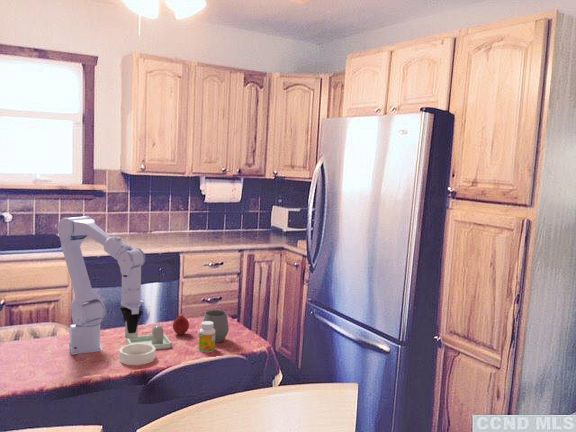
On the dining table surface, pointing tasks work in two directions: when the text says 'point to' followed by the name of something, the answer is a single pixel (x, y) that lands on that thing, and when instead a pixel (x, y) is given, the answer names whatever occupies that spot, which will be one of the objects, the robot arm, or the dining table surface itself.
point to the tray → (150, 341)
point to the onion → (180, 325)
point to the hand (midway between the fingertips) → (130, 330)
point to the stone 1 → (130, 335)
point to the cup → (218, 323)
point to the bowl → (137, 354)
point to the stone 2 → (157, 335)
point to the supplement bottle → (207, 337)
